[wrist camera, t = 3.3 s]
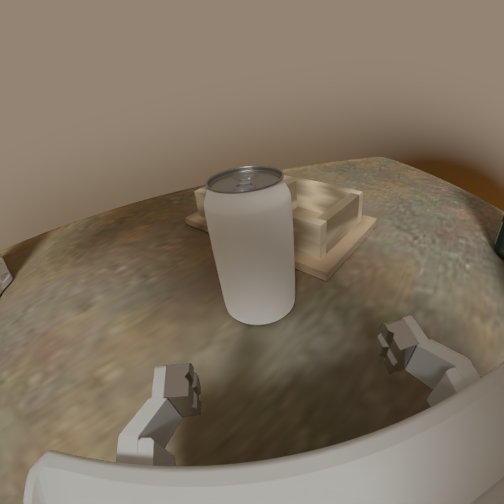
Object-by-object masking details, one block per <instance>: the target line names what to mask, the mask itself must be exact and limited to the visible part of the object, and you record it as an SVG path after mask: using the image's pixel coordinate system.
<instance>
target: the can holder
mask: <svg viewBox="0 0 504 504" xmlns="http://www.w3.org/2000/svg"><path fill="white" fill-rule="evenodd" d="M283 180H284V182H285V183H286V185H287V187H288V189H289V190H290V193H291V200H292V214H293V234H294V261H295V269H297V270H300V271H302V272H305V273H307V274H310V275H312V276H314V277H317V278H319V279H322V280H324V281H327V280H328V279H329V278H330V277H331V276H332V275H333V274H334V273H335V272H336V271H337V270H338V269H339V268H340V267H341V265H342V264H343V263H344V262H345V261H346V260H347V259H348V258H349V257H350V256H351V254H352V253H353V252H354V251H355V250H356V249H357V248H358V247H359V245H360V244H361V243H362V242H363V241H364V240H365V239H366V237H367V236H368V235H369V234H370V233H371V232H372V230H373V229H374V228H375V227H376V226H377V219H376V218H372V217H369V216H365V215H362V200H363V192H362V191H357V190H353V189H349V188H345V187H340V186H336V185H331V184H326V183H321V182H317V181H312V180H307V179H301V178H296V177H291V176H285V175H284V178H283ZM194 193H195V198H196V203H197V207H198V211H196V212H194V213H192V214H190V215H188V216H186V217H184V219H185V223H186V224H188V225H190V226H193V227H195V228H198V229H200V230H203V231H205V232H208V233H209V231H208V226H207V221H206V216H205V211H204V200H205V196H206V193H207V188H206V186H205V187H202V188H200V189H198V190H196V191H194Z"/></svg>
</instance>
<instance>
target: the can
mask: <svg viewBox="0 0 504 504" xmlns="http://www.w3.org/2000/svg"><path fill="white" fill-rule="evenodd" d="M283 178H284V173H283V172H282V171H281V170H280V169H277V168H274V167H269V166H245V167H238V168H233V169H228V170H225V171H222V172H219V173H217V174H215V175H213V176H211V177H210V178H209V179H207V181H206V183H205V186H206V188H207V193H206V196H205V200H204V211H205V216H206V221H207V226H208V231H209V236H210V240H211V245H212V250H213V254H214V259H215V263H216V268H217V272H218V276H219V281H220V285H221V289H222V293H223V297H224V301H225V305H226V308H227V310H228V312H229V314H230V315H231V316H232V317H233V318H235V319H236V320H238V321H240V322H242V323H245V324H249V325H267V324H271V323H274V322H276V321H278V320H280V319H281V318H283V317H284V316H286V315H287V314H288V313H289V312H290V311H291V309H292V308H293V306H294V303H295V261H294V234H293V214H292V200H291V193H290V190H289V189H288V187H287V185H286V183H285V182H284V180H283Z"/></svg>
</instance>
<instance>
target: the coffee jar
mask: <svg viewBox="0 0 504 504" xmlns="http://www.w3.org/2000/svg"><path fill="white" fill-rule="evenodd" d="M495 249H496V251H497V253H498V254H499V255H500V256H501V257H502V258H504V217H503V220H502V222H501V225H500V228H499V231H498V234H497V237H496V240H495Z"/></svg>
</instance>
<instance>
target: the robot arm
mask: <svg viewBox="0 0 504 504" xmlns="http://www.w3.org/2000/svg"><path fill="white" fill-rule="evenodd" d="M12 279H13V277H12V275H11V274H10V272H9V270H8V268H7V265H6V263H5V261H4V260H3V258H2V257H0V294H1V293H2V291H3V290H4V289H5V288H6V287H7V286H8V284H9V283H10V282H11V281H12ZM379 330H380V332H381V333H380V334H379V335H378V336H377V340H376V347H377V350H378V353H379V355H380V356H381V357H383V358H385V360H384V364H385V366H386V368H387V370H388V372H389V374H392V373H395V372H398V371H401V370H403V369H405V370H406V371H408V372H409V373H410V374H412V375H413V376H414V377H416V378H417V379H419V380H420V381H421V382H423V383H424V384H426V385H427V386H428V387H430V388H431V389H433V391H432V392H431V394H430V395H429V396H428V398H427V401H428V403H429V405H430V408H428V409H426V410H424V411H422V412H420V413H418V414H415V415H413V416H411V417H409V418H407V419H404V420H402V421H400V422H397V423H395V424H393V425H390V426H388V427H385V428H383V429H380V430H377V431H375V432H372V433H369V434H366V435H363V436H360V437H358V438H354V439H351V440H348V441H345V442H342V443H338V444H335V445H331V446H328V447H324V448H320V449H316V450H312V451H308V452H304V453H299V454H294V455H289V456H284V457H279V458H273V459H267V460H260V461H253V462H245V463H236V464H225V465H209V466H175V457H174V456H173V455H172V454H171V453H169V452H168V451H167V450H165V449H164V448H165V447H166V445H167V443H168V442H169V440H170V438H171V437H172V435H173V433H174V432H175V430H176V428H177V427H178V425H179V423H180V421H181V420H182V417H187V416H198V415H201V401H200V400H199V398H198V396H199V395H200V393H201V387H200V381H199V378H198V375H197V373H195V372H194V367H193V365H192V364H191V363H186V364H173V365H158V366H156V367H155V370H154V378H153V387H152V397H151V399H148V400H147V401H146V402H145V403H144V405H143V406H142V407H141V408H140V410H139V411H138V412H137V413H136V415H135V416H134V417H133V418H132V420H131V421H130V422H129V423H128V425H127V426H126V427H125V428H124V430H123V431H122V432H121V433H120V435H119V438H118V447H117V457H116V462H111V461H104V460H98V459H92V458H86V457H81V456H76V455H72V454H67V453H63V452H59V451H55V450H50V451H48V452H46V453H45V454H44V455H43V456H42V457H41V458H40V459H38V461H37V462H36V463H35V464H34V465H33V466H32V467H31V468H30V470H29V473H28V476H27V480H26V485H25V491H24V499H23V504H504V362H503V363H502V364H500V365H499V366H498V367H496V368H495V369H493V370H492V371H490V372H489V373H488V374H486V375H485V376H483V377H482V378H481V377H480V375H479V374H478V372H477V371H476V369H475V368H474V366H473V364H472V363H471V361H470V360H469V358H467V357H465V356H463V355H461V354H459V353H457V352H455V351H453V350H452V349H450V348H448V347H446V346H444V345H442V344H440V343H438V342H436V341H434V340H432V339H430V340H428V338H427V337H426V335H425V334H424V332H423V331H422V329H421V328H420V326H419V325H418V323H417V322H416V321H415V319H414V318H413V317H412V316H411V315H409V316H406V317H403V318H399V319H396V320H393V321H390V322H387V323H384V324H382V325H381V326H380V329H379Z"/></svg>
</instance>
